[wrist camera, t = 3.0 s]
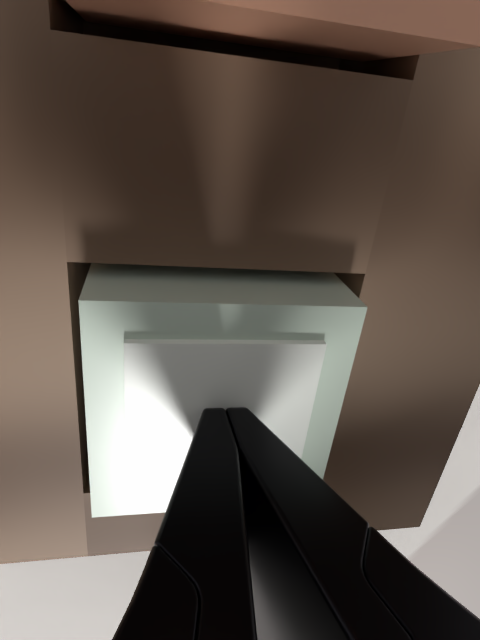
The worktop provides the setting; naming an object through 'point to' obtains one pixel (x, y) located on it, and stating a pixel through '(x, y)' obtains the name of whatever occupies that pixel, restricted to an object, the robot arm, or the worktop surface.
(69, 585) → the worktop surface
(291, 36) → the terracotta key
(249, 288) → the sage key
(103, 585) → the worktop surface
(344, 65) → the key console
